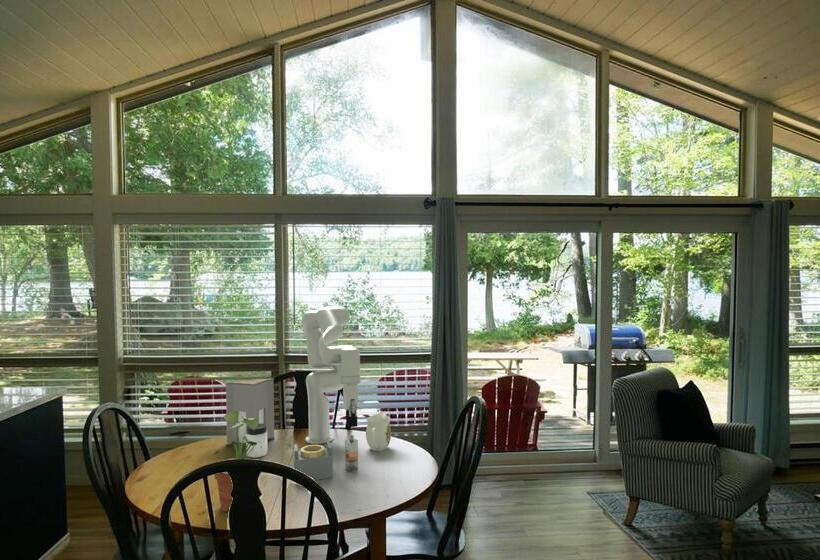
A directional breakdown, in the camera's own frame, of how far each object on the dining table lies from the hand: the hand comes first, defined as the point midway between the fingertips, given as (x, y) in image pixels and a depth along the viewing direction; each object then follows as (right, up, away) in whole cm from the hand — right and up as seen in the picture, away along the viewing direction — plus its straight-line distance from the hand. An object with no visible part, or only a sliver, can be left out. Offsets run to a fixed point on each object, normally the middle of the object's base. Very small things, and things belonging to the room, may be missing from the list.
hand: (351, 423), depth 201 cm
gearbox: (-14, -18, -5) cm, 24 cm away
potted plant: (-34, -19, -30) cm, 49 cm away
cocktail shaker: (0, -18, +1) cm, 18 cm away
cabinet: (-49, -19, +33) cm, 62 cm away
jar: (-43, -19, +19) cm, 50 cm away
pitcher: (+9, -18, +23) cm, 31 cm away
